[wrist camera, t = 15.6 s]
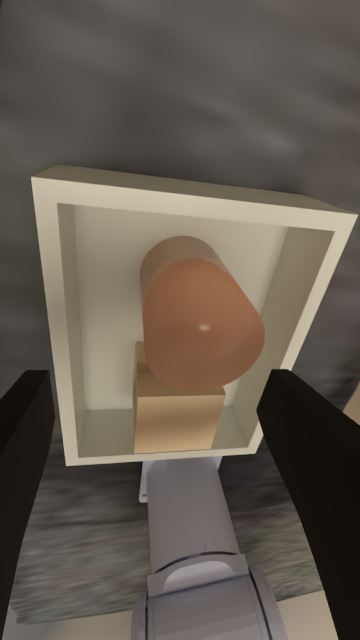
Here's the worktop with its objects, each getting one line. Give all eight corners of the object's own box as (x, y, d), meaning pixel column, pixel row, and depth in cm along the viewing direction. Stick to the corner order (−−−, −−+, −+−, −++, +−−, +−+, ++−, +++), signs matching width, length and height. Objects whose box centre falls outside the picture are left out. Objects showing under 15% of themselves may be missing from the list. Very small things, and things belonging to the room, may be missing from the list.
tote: (234, 402, 26) (255, 453, 22) (76, 407, 24) (66, 465, 20) (302, 194, 17) (358, 214, 13) (58, 164, 15) (31, 176, 10)
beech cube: (195, 392, 24) (210, 448, 19) (132, 394, 23) (133, 453, 18) (206, 342, 21) (226, 394, 17) (135, 341, 20) (137, 397, 16)
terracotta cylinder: (212, 313, 20) (248, 390, 14) (137, 310, 19) (141, 392, 13) (228, 239, 17) (280, 296, 11) (142, 232, 16) (149, 289, 10)
